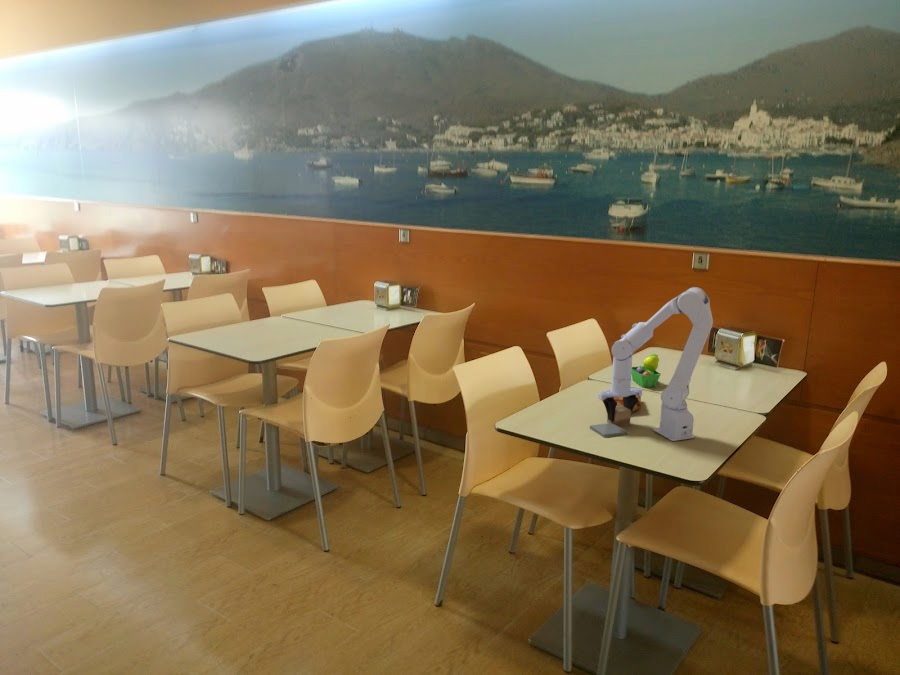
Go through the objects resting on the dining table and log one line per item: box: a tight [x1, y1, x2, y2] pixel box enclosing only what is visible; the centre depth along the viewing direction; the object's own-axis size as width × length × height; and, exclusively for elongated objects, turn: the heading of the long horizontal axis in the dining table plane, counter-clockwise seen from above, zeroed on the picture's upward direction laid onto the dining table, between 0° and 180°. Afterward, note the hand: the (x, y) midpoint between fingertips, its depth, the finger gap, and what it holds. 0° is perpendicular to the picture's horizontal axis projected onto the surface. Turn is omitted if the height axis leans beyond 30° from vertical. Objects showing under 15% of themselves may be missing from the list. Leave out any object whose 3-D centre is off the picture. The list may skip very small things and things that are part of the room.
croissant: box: [614, 395, 642, 414], centre depth 227 cm, size 21×10×8 cm, turn 143°
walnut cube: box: [606, 405, 632, 428], centre depth 212 cm, size 5×5×5 cm
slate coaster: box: [589, 422, 628, 438], centre depth 207 cm, size 8×8×1 cm
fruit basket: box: [631, 353, 661, 388], centre depth 253 cm, size 11×9×11 cm
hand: (618, 419), depth 213 cm, fingers closed on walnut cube, 5 cm apart
